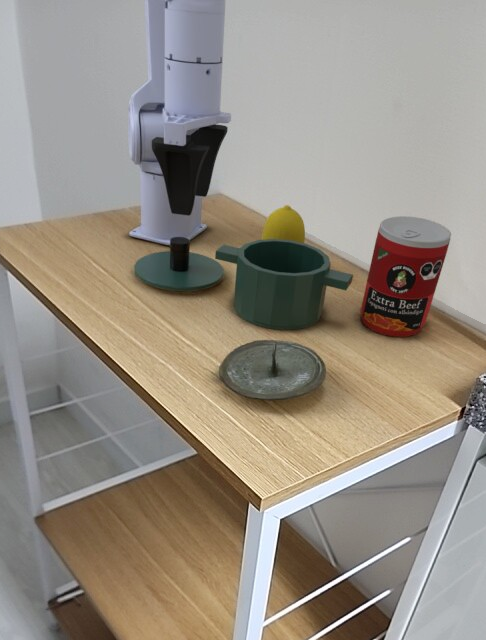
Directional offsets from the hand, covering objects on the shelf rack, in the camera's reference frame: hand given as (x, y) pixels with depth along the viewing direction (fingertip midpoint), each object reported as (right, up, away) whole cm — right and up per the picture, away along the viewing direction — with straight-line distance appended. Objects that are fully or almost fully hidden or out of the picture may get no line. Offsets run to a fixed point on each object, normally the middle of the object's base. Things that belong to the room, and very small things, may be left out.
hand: (189, 204), depth 72 cm
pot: (+10, -11, +4) cm, 15 cm away
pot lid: (-2, -5, +9) cm, 10 cm away
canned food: (+24, -12, +4) cm, 27 cm away
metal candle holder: (+9, -21, -8) cm, 24 cm away
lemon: (+11, -3, +14) cm, 18 cm away
